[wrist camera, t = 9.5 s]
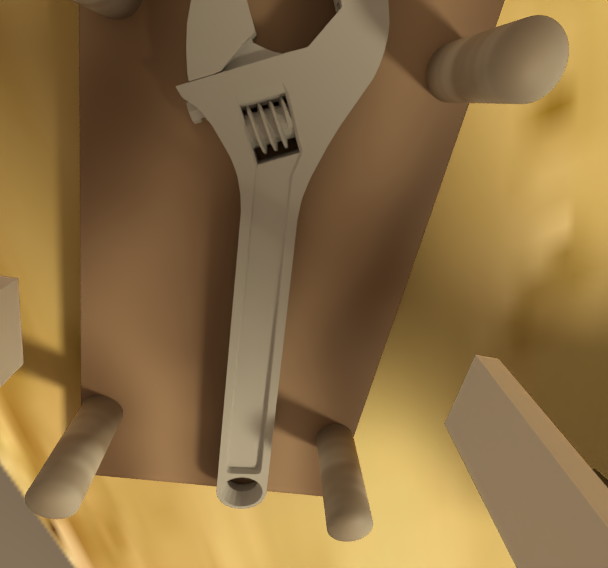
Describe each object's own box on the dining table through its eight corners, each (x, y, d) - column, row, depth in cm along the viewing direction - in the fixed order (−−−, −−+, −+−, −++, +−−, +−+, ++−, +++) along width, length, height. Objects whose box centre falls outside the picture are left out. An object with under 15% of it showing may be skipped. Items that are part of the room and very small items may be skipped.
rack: (505, -56, 15) (661, -159, 9) (329, 475, 25) (346, 590, 19) (99, -185, 13) (-55, -433, 7) (92, 451, 23) (30, 571, 17)
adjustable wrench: (266, 486, 23) (265, 514, 22) (151, 474, 23) (141, 504, 21) (397, -38, 13) (413, -56, 12) (201, -95, 13) (189, -124, 11)
